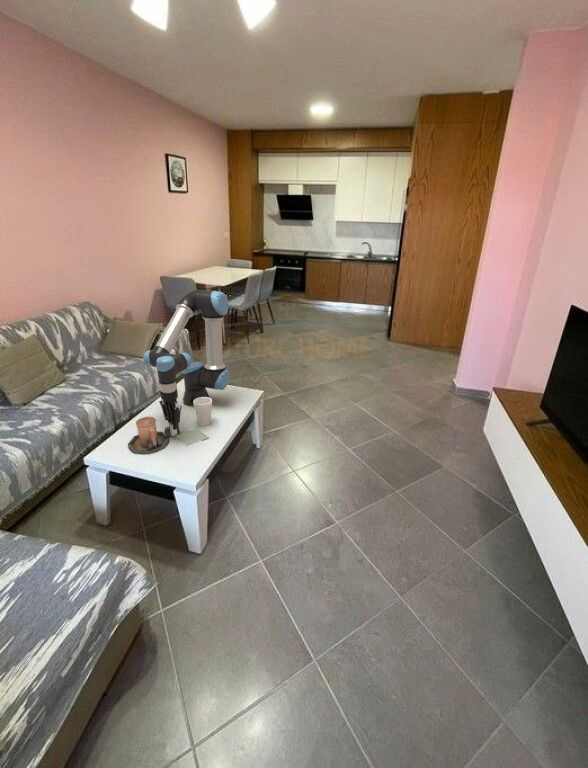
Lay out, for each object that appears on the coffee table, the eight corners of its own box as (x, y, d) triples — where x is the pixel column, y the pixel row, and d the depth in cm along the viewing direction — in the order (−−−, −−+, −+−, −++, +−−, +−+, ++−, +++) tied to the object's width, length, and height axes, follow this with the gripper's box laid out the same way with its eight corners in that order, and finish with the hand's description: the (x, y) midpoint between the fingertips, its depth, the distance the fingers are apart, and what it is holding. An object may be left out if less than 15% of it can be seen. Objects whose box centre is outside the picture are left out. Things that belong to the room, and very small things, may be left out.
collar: (171, 425, 186) (170, 415, 183) (187, 438, 174) (186, 428, 172) (123, 441, 170) (122, 431, 168) (138, 457, 159) (136, 447, 157)
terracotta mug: (154, 436, 176) (151, 414, 171) (164, 446, 169) (161, 424, 164) (136, 442, 170) (132, 420, 166) (146, 453, 163) (142, 430, 158)
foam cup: (209, 428, 185) (207, 406, 180) (192, 426, 187) (190, 403, 182) (216, 419, 194) (214, 398, 189) (200, 417, 195) (198, 396, 190)
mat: (196, 428, 185) (196, 427, 185) (209, 438, 177) (209, 437, 177) (174, 436, 177) (174, 435, 177) (186, 447, 169) (186, 446, 169)
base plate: (159, 430, 182) (159, 429, 182) (176, 445, 170) (176, 444, 170) (122, 443, 171) (122, 442, 171) (138, 460, 159) (137, 459, 159)
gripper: (184, 390, 165) (189, 435, 174) (165, 383, 171) (171, 427, 180) (171, 396, 159) (177, 442, 168) (152, 389, 165) (158, 433, 175)
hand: (174, 434), depth 174 cm, fingers closed
